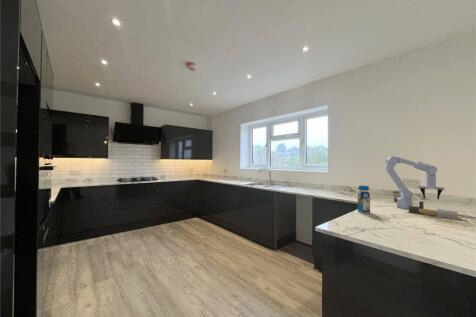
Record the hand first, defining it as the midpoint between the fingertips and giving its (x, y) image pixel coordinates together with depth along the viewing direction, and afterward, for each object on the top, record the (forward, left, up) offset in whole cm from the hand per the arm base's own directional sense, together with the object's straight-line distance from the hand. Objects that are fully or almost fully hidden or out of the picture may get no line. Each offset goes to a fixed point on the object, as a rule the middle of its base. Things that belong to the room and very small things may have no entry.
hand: (431, 198), depth 156 cm
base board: (+2, -19, -10) cm, 22 cm away
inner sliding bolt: (0, -19, -8) cm, 21 cm away
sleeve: (+10, -19, -9) cm, 23 cm away
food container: (-24, +29, -10) cm, 39 cm away
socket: (-7, -19, -9) cm, 22 cm away
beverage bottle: (-34, -41, -10) cm, 54 cm away
